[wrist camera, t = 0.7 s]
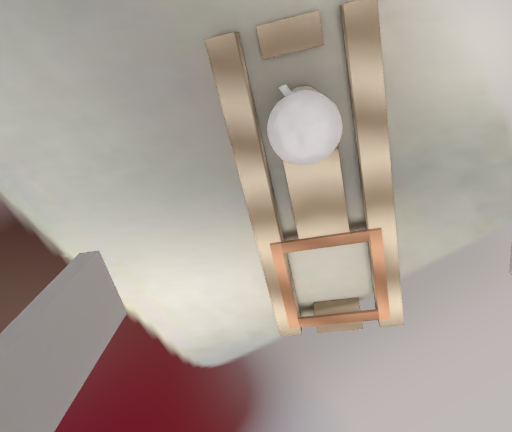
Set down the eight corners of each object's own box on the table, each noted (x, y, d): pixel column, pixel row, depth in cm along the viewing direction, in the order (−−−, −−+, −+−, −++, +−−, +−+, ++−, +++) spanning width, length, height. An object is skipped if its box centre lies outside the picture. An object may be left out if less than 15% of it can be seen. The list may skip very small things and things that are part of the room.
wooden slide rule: (210, 39, 29) (203, 39, 27) (372, -3, 27) (377, -6, 25) (281, 322, 40) (280, 338, 38) (399, 311, 38) (404, 327, 36)
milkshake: (316, 55, 29) (321, 65, 20) (341, 120, 30) (356, 157, 22) (261, 82, 30) (244, 103, 21) (289, 143, 32) (283, 186, 23)
